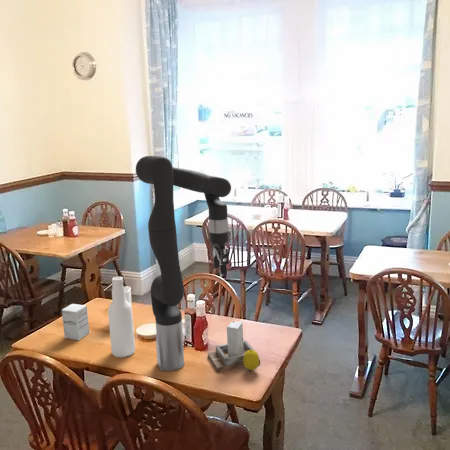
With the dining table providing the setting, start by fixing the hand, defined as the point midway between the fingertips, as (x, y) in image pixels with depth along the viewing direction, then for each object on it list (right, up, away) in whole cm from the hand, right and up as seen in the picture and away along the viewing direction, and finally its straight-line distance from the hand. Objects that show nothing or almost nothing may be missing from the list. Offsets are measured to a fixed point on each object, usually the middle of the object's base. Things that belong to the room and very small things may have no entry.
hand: (220, 270), depth 200 cm
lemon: (+11, -33, -19) cm, 40 cm away
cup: (-42, -25, +25) cm, 55 cm away
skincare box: (+6, -30, -11) cm, 33 cm away
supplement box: (-59, -28, +12) cm, 66 cm away
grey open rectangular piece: (+5, -32, -12) cm, 34 cm away
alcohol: (-37, -31, -3) cm, 48 cm away
